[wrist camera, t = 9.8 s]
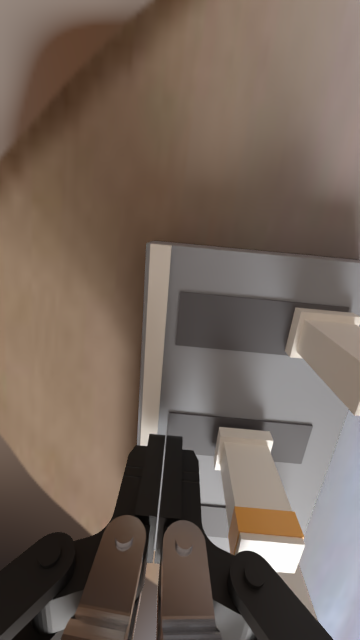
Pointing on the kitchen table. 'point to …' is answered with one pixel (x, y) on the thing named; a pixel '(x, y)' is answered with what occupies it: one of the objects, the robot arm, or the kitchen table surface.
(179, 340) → the breaker panel
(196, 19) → the kitchen table surface
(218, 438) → the breaker toggle
